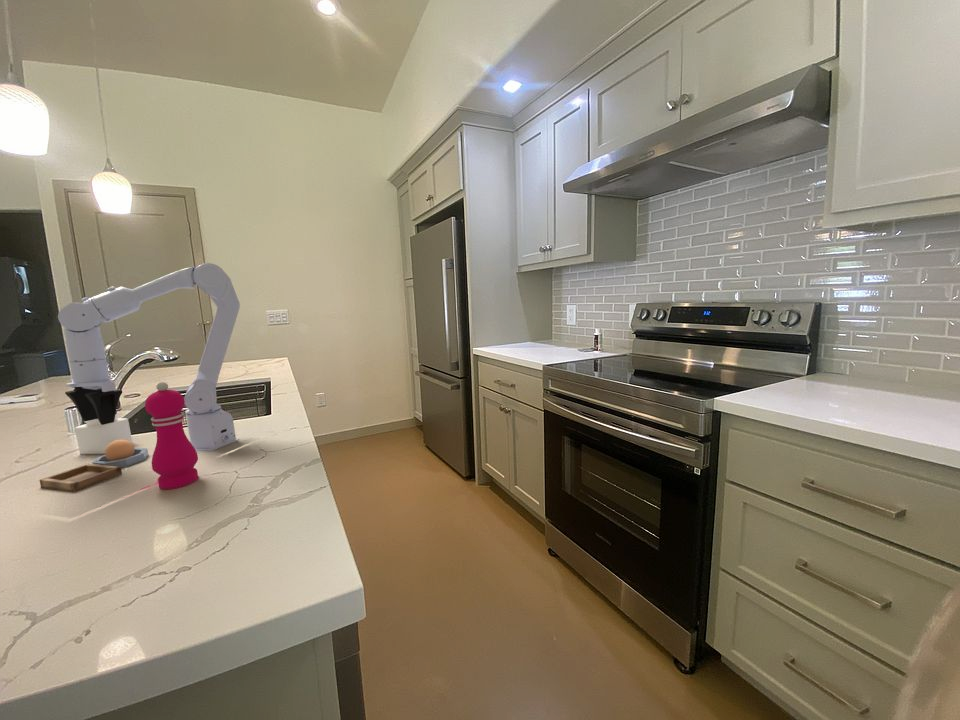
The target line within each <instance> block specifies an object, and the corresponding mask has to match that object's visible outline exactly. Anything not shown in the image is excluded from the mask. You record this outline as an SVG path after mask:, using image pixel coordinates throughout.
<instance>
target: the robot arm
mask: <svg viewBox="0 0 960 720" xmlns="http://www.w3.org/2000/svg"><path fill="white" fill-rule="evenodd" d="M231 279H232V278H230V276H229V275H228V274H227V273H226V272H225V271H224V270H223V268H221V267H220V266H219V265H217V264H215V263H211V262H205V263H201V264H200V265H198V266H190V267H187V268H182V269H180V270H176V271H174V272H171V273H169V274H166V275H164V276H161V277H160V278H156V279H154V280H151V281H150V282H147V283H144V284H141V285H139V286H137V287H135V288H133V289H132V288H127V287H124V286H119V287H116V286H110V287H108V288H106V289H107V291H106V292H102V293H99V294H97V295H94V296H92V297H88V296H85V297H83V298H81V301H82V302H70V303H68V304H67V305H65V306H63V307H62V308H60V310H59V312H58V314H57V319H58V321H59V323H60V325H61V326H62V327H64V336H65V338H66V339H65V345H66V351H67V354H68V360H69V366H70V367H69V368H70V372H71V377H72V378H71V379H69V382H68V383H65V386H66V387H65V388H71V389H73V390H67V391H65V392H64V394H65V395H66V396H67V397H68V398H69V399H70V400H71V402H72V403H73V404H74V405H75V407H76V409H77V411H78V413H79V415H80V417H81V419H82V421H83V422H84V421H89V420H94V419H97V417H98V420H99V422H100V424H101V425H104V424H108V423H113V422H114V420H115V413H116V411H117V407H118V403H119V400H120V398H121V396H122V394H123V389H116V383H115V381H114V380H112V378H110V375H109V370H108V369H109V368H108V367H109V366H108V361H107V356H106V352H105V351H106V350H105V344H104V339H103V337H102V332H101V327H100V326H101V325H102V324H103V323H106V324H107V323H108V324H109V323H110V322H112V321H113V322H114V321H115V320H117V319H120V318H123V317H126V316H127V315H130V314H132V313H135V312H138V311H139V310H140V309H141V305H142V303H143V302H146V301H148V300H151V299H154V298H156V297H159V296H162V295H164V294H167V293H170V292H173V291H176V290H180V289H187V290H188V289H189V290H196V287H195V286H197V287H198V288H199V289H200V290H201V291H203V293H205V294H206V295H208V296H209V298H210V299H211V300H212V302H213V303H214V305H215V306H216V307H217V308H216V310H215V315H214V317H213V321H212V324H211V327H210V330H209V333H208V336H207V341H206V343H205V346H204V350H203V353H202V355H201V359H200V363H199V366H198V369H197V372H196V375H195V379H194V381H193V382H192V383H191V384H190V385H189V386H188V387H187V389H186V392H185V394H184V395H185V396H183V397H184V400H185V405H184V406H186V408H187V410H185V411H184V412H185V418H186V423H187V424H186V425H187V431H188V435H189V441H190V443H191V444H192V445H193V446H194V448H195V450H196V451H206V452H212V451H215V450H217V449H219V448H222V447H225V446H227V445H230V444H232V443H235V442H237V441H239V440H240V439H239V438H236V437H237V436H236V431H235V425H234V424H235V423H234V418H233V416H232V415H231V413H230V412H228V411H225V410H223V409H222V408H221V404H219V403H218V402H217V400H218V398H217V385H218V380H219V376H220V372H221V369H222V366H223V363H224V360H225V357H226V354H227V351H228V348H229V343H230V341H231V337H232V334H233V331H234V328H235V324H236V322H237V318H238V314H239V311H240V308H241V304H240V301H239V297H238V295H237V293H236V291H235V287H234V286H233V283H232V280H231Z"/></svg>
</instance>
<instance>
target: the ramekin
mask: <svg viewBox="0 0 960 720" xmlns="http://www.w3.org/2000/svg"><path fill="white" fill-rule="evenodd" d="M134 448H135V450H134V454H133V455H132V456H131V457H128V458H125V459H120V460H115V461H110V460H108V459H107V458H106V456H105V454H104V455H100V456H98V457H96V458H95V459H94V460H93V461H92V462H91V464H98V465H107V466H117V467H121V468H125V467H129V466H132V465H135V464H137V463H141V462H143V461H145V460H146V459H147V457H148V456H149V450H148V448H144V447H134Z"/></svg>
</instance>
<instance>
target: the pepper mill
mask: <svg viewBox="0 0 960 720" xmlns="http://www.w3.org/2000/svg"><path fill="white" fill-rule="evenodd" d="M156 390H157V391H154V392H152V393H151V394H149V395H148V397H147V398H146V399H145V402H144V407H145V411H146V412H147V413H148V414H149V415H150V416H152V417H151V418H150V421H151V426H152V427H154V428H155V431H156V443H155V447H154V450H153V453H152V457H151V468H152V471H153V472H154V473H156V474H157V475H159V476H158V478H157V483H158V488H159V489H161V490H173V489H179V488H182V487H185V486H188V485H190V484H192V483H193V484H194V482H196V481H197V480H198V479H199V474H198V468H196V467H195V465H196V464H197V463H198V460H199V456H198V452H197V450H195V448H194V446H193V445H192V444H191V443H190V439H189V438H188V437H187V435H186V433H185V430H184V426H183V421H185V417H184V415H185V414H184V413H183V412H182V410H183V409H184V407H185V406H186V405H185V400H184V397H185V396H184V395H183V394H182V393H181V392H179V391H177V390H174V389H169V385H168V382H165V381H161V382H158V383H157V384H156Z"/></svg>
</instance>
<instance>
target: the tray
mask: <svg viewBox="0 0 960 720" xmlns="http://www.w3.org/2000/svg"><path fill="white" fill-rule="evenodd" d="M122 474H123V472H122V467H117V466H107V465H98V464H92V463H86V464H83V465H80V466H77V467H74V468H70V469H68V470H67V469H66V470H64V471H62V472H58V473H56V474H52V475H50V476H46V477H44V478H41V479H39V485H40V488H43V489H44V488H45V489H50V490H59V491H67V492H74V493H75V492H76V493H77V492H78V491H80V490H83V489H86V488H89V487H92V486H93V485H96V484H99V483H103V482H104V481H107V480H110V479H113V478H115V477H118V476H120V475H122Z"/></svg>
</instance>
